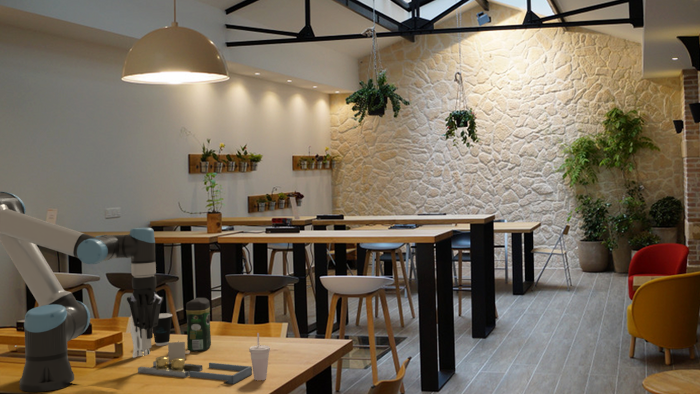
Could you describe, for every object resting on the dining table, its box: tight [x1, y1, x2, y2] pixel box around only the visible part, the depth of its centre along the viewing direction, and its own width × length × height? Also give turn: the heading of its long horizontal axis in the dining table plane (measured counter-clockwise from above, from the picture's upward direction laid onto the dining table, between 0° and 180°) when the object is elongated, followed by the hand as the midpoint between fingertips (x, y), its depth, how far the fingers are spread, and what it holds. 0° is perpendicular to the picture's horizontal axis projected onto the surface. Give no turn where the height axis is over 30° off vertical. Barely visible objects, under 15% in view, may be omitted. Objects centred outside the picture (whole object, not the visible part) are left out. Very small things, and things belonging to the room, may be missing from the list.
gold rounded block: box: [155, 355, 170, 369], centre depth 212 cm, size 4×4×4 cm
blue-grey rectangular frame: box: [189, 362, 253, 385], centre depth 207 cm, size 11×16×2 cm
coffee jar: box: [185, 297, 212, 352], centre depth 245 cm, size 10×8×19 cm
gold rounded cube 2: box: [170, 358, 186, 371], centre depth 210 cm, size 4×4×4 cm
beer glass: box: [129, 313, 151, 359], centre depth 235 cm, size 7×7×15 cm
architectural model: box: [167, 340, 191, 362], centre depth 227 cm, size 3×7×7 cm, turn 98°
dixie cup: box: [152, 312, 173, 347], centre depth 253 cm, size 8×8×11 cm
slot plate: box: [137, 360, 203, 379], centre depth 211 cm, size 9×18×2 cm, turn 68°
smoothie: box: [248, 332, 271, 381], centre depth 204 cm, size 6×6×14 cm
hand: (146, 348), depth 215 cm, fingers closed
